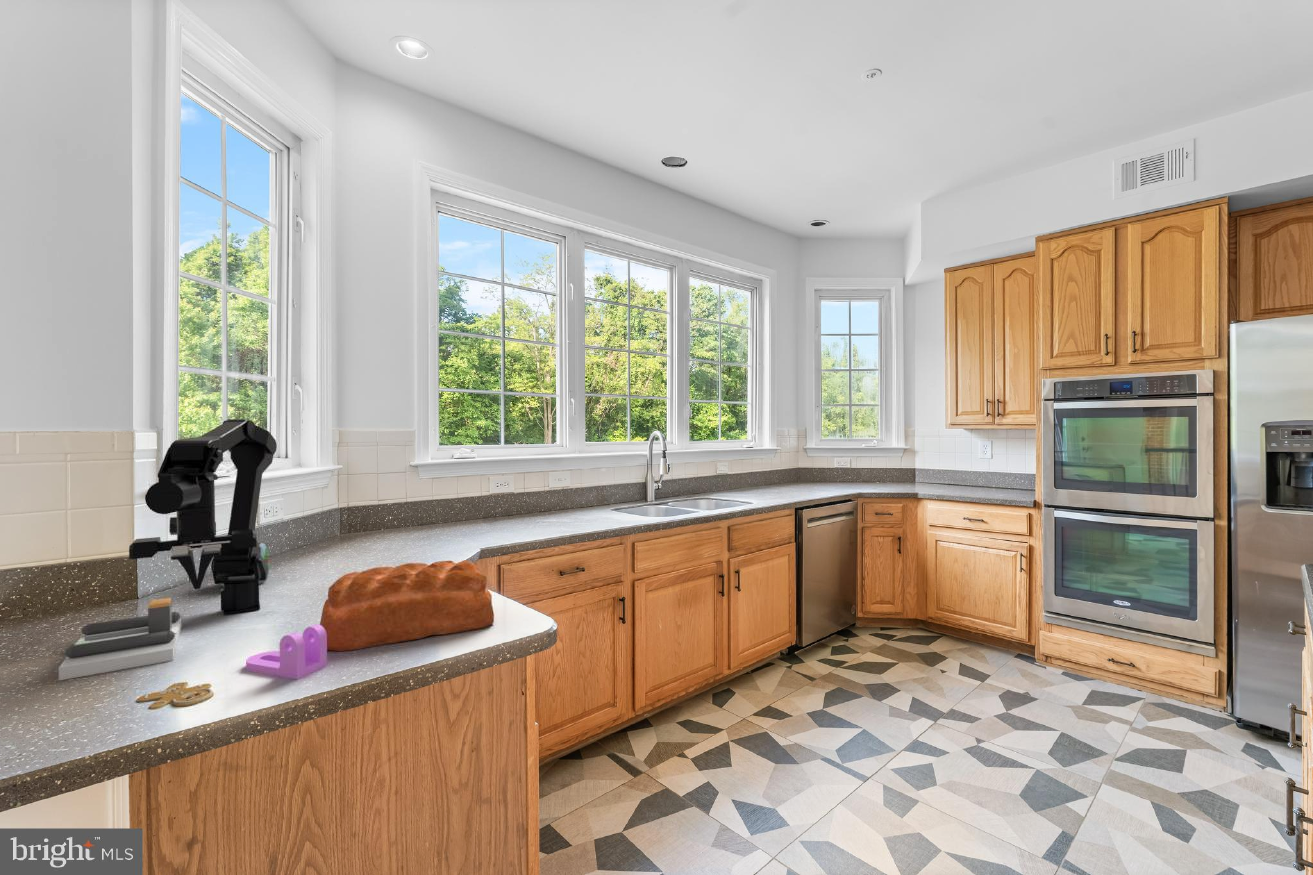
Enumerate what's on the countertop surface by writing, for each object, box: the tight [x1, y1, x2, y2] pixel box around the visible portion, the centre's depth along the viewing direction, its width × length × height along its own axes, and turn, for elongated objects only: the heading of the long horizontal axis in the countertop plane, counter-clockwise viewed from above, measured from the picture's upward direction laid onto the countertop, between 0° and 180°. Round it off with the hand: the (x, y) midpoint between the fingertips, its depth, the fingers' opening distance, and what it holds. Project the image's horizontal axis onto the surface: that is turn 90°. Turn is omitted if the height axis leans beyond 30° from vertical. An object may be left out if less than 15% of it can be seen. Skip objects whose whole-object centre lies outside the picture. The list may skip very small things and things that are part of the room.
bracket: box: [245, 623, 328, 680], centre depth 99 cm, size 13×6×7 cm, turn 72°
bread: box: [319, 560, 495, 652], centre depth 118 cm, size 16×31×13 cm, turn 119°
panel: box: [58, 611, 183, 681], centre depth 107 cm, size 14×22×4 cm, turn 35°
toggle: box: [147, 597, 173, 633], centre depth 109 cm, size 3×4×6 cm
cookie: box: [135, 681, 215, 710], centre depth 89 cm, size 8×1×10 cm
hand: (197, 588), depth 113 cm, fingers closed
